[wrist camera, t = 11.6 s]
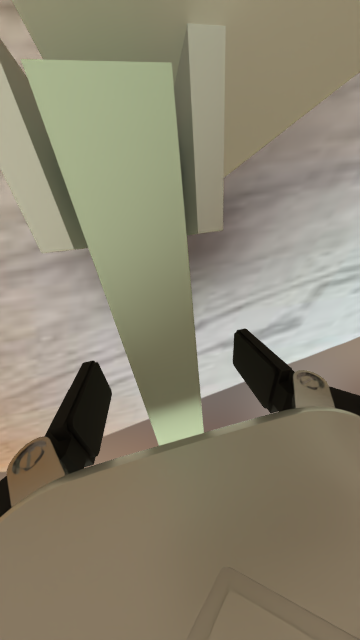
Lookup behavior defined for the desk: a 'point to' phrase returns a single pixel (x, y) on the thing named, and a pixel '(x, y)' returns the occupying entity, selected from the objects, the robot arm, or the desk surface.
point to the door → (131, 217)
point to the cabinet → (178, 88)
